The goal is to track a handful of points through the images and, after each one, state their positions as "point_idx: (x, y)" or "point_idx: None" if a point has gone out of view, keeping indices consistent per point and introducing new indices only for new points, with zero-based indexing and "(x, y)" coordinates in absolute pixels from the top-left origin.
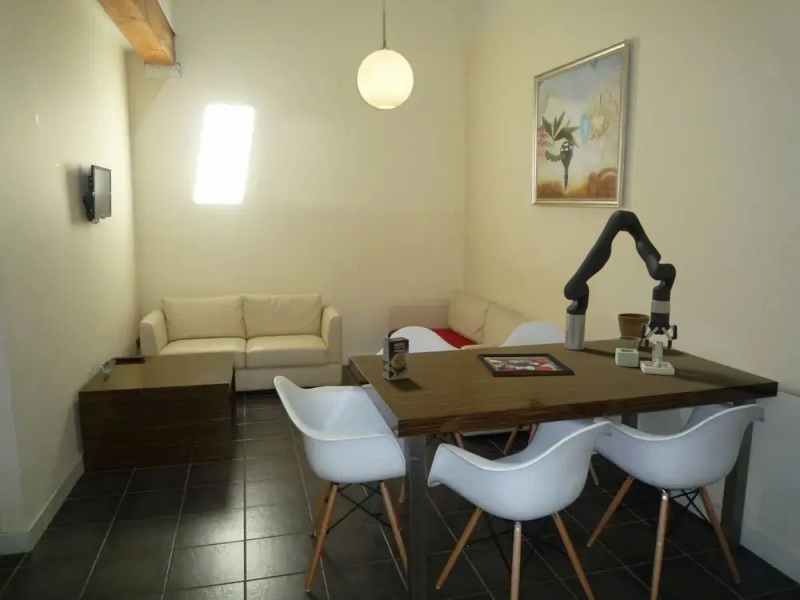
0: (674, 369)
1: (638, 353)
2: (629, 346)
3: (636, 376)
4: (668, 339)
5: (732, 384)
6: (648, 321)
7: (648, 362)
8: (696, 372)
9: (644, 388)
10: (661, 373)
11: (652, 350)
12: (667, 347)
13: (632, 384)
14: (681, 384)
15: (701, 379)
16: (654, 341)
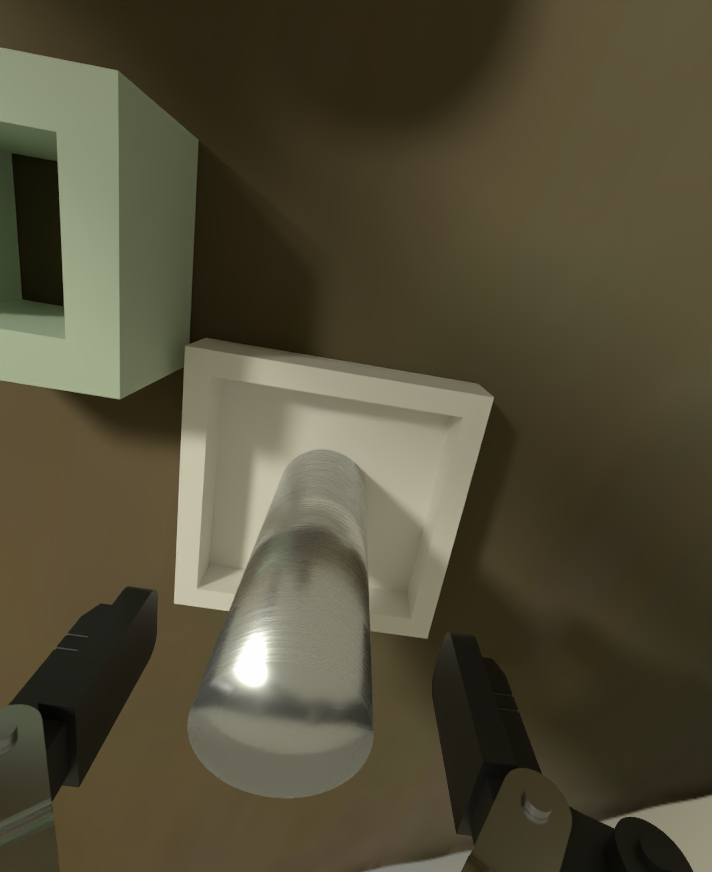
0: (425, 637)
1: (114, 397)
2: None
3: None
4: (488, 790)
5: (702, 767)
6: None
7: (276, 384)
8: (651, 518)
9: (131, 843)
10: None
11: (236, 592)
12: (447, 648)
13: (72, 790)
14: (374, 779)
15: (568, 686)
16: (214, 722)
